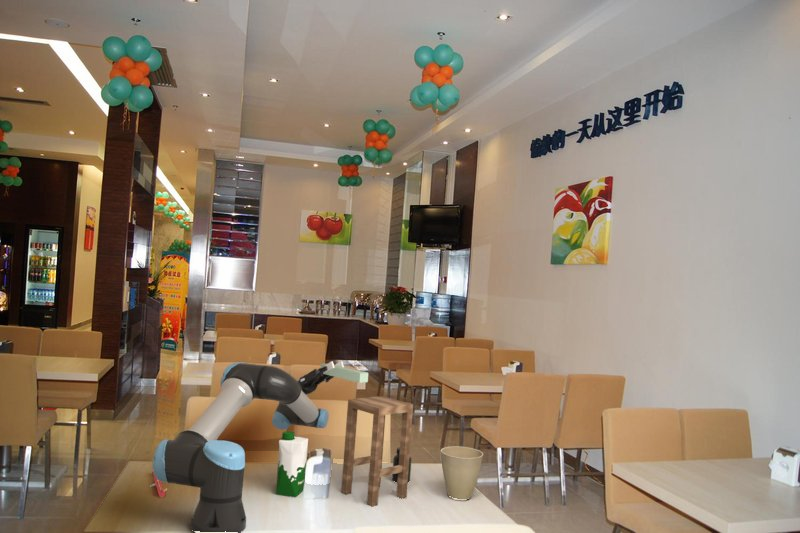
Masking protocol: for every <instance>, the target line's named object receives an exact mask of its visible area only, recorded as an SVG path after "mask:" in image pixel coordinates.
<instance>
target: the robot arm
mask: <svg viewBox="0 0 800 533" xmlns="http://www.w3.org/2000/svg"><path fill="white" fill-rule="evenodd" d="M326 364H327V365H325V366H324V367H322V368H321V367H319V368H314V369H313V370H311V371H310V372H308V373H306V374H304V375H302V376H300V378H297V379H296V378H295V377H294V376H292V375H291V374H290V373H288V372H287V371H285V370H284V369H281V368H280V367H277V366H273V365H263V364H256V363H248V362H247V363H246V362H233V363H230V364H229V365H228V366H226V368H225V369H224V370H223V372H222V376H221V377H220V378H221V379H220V392H219V394H218V395H216V397H215V398H214V400H213V401H212V402H211V403H210V404H209V405H208V406H207V408H206V409H205V410H204V411H203V413H202V414H201V415H200V416H199V417H198V418H197V420H195V422H194V423H193V425H191V427H190V428H189V429H185V430H182V431H180V432H179V433H178V435H176V437H175V438H174V439H170V438H168V439H162V441H159V443H158V445H157V446H156V448H155V451H154V454H153V460H152V473H153V472H154V475H155V477H156V478H157V479H158V480H160V481H161V482H164V483H167V484H174V485H180V486H187V487H188V486H189V487H194V488H200V490H199V492H200V493H199V499H198V503H197V505H196V507H195V510H194V513H193V515H192V517H191V522H190V530H191V531H192V530H193V531H200V532H225V531H226V532H240V531H242V532H243V531H244V530H245V529H246V527H247V516H246V511H245V507H244V503H243V487H244V476H245V467H246V453H245V450H244V448H243V446H241V445H240V444H238V443H236V442H233V441H229V440H222V439H221V440H220V439H219V437H220V435H221V434H222V433H223V432H224V431H225V429H226V428H227V427H228V425H229V424H230V423H231V421H232V420H233V419H234V418H235V416H236V415H237V414H238V412H239V411H240V410H241V409H242V408H244V407H247V406H248V405H250V404H251V402H252V401H253V400H254V399H259V400H269V401H275V402H278V404H277V406H276V408H275V411H274V412H273V414H272V415H273V416H272V419H271V424H272V426H274V428H276V429H278V430H282V431H283V430H288V428H290V426H291V425H292V426H301V427H307V428H308V427H309V428H316V429H324V428H326V427H327V425H328V422H329V414H330V413H329V411H328V410H327V409H324V408H322V407H321V408H318V407H317V405H315V403H314V402H313V401H312V400H311V399H310V398H309V397H308V396H309V395H310V394H312V393H314V392H315V391H316V390H317V389H318V385H320V384H322V383H323V382H325V383H328V382H330V380H333V379H334V378H335V377H334V376H330V375H326V373H328V372H329V371H331V370H332V369H334V365H337V366H341V367H345V366H344V362H343V360H340V361H339V362H336V364H334V361H329V362H328V363H326ZM218 439H219V440H218ZM240 533H241V532H240Z"/></svg>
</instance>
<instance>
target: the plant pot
mask: <svg viewBox="0 0 800 533" xmlns="http://www.w3.org/2000/svg"><path fill="white" fill-rule="evenodd" d="M483 457H484V452H482V451H481V450H479V449H476V448H473V447H468V446H445V447H443V448H441V449H440V459H441V468H442V473H443V479H444V483H445V487H446V491H447V494H448V497H449V496H451V497H453V498H457V499H468V498H470V499H471V497H472V495H473V493H474V490H475V487H476V485H477V481H478V479H479V474H480V472H481V467H482V462H483Z"/></svg>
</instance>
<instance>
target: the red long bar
mask: <svg viewBox="0 0 800 533" xmlns="http://www.w3.org/2000/svg"><path fill="white" fill-rule="evenodd" d="M152 476H153V479H154V483H152V484H151V485H150V486H149V487H150V488H152V487H151V486H153V487H156V490H157V493H158V496H159V498H164V497H165V496H166V493H165V492H166V491H167V490H168V488H167V487H166V488H163V484H162V483H163V482H162V481H160V480H158V479H157V478H156V477H155V475H154V472H153V471H152Z"/></svg>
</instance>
